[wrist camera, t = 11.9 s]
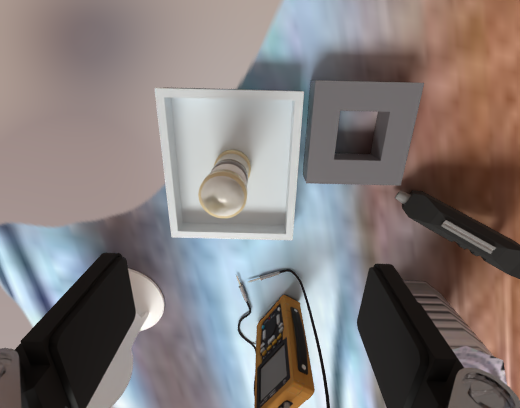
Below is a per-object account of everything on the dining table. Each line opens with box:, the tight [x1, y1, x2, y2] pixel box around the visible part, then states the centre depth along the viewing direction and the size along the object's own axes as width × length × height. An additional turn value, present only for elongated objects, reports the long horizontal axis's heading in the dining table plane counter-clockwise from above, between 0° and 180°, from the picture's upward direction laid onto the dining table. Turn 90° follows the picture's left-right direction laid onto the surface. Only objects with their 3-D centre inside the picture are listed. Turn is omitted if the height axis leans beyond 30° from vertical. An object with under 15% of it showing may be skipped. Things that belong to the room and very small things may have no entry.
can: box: [404, 281, 507, 385], centre depth 35 cm, size 11×11×12 cm
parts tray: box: [155, 88, 304, 240], centre depth 31 cm, size 16×14×3 cm
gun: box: [395, 190, 520, 279], centre depth 33 cm, size 3×16×10 cm, turn 65°
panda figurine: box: [86, 269, 165, 408], centre depth 33 cm, size 12×11×15 cm
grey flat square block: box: [303, 80, 424, 185], centre depth 29 cm, size 10×10×3 cm
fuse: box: [198, 149, 251, 218], centre depth 28 cm, size 4×4×9 cm
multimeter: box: [236, 270, 330, 408], centre depth 31 cm, size 15×10×20 cm
